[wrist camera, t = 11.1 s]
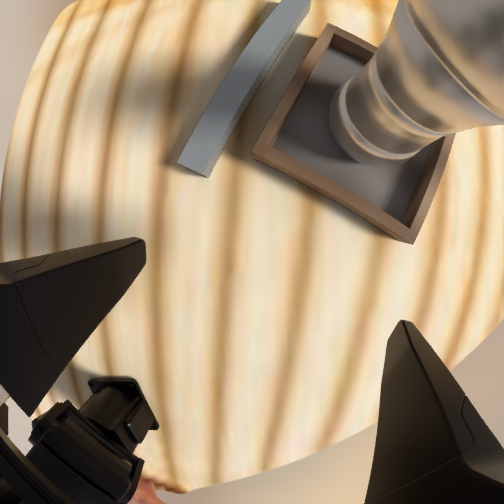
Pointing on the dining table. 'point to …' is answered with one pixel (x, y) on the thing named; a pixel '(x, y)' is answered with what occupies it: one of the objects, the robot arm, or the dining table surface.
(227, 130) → the door edge strip
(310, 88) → the brown square tray
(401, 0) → the plastic bottle
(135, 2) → the dining table surface
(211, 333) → the dining table surface
